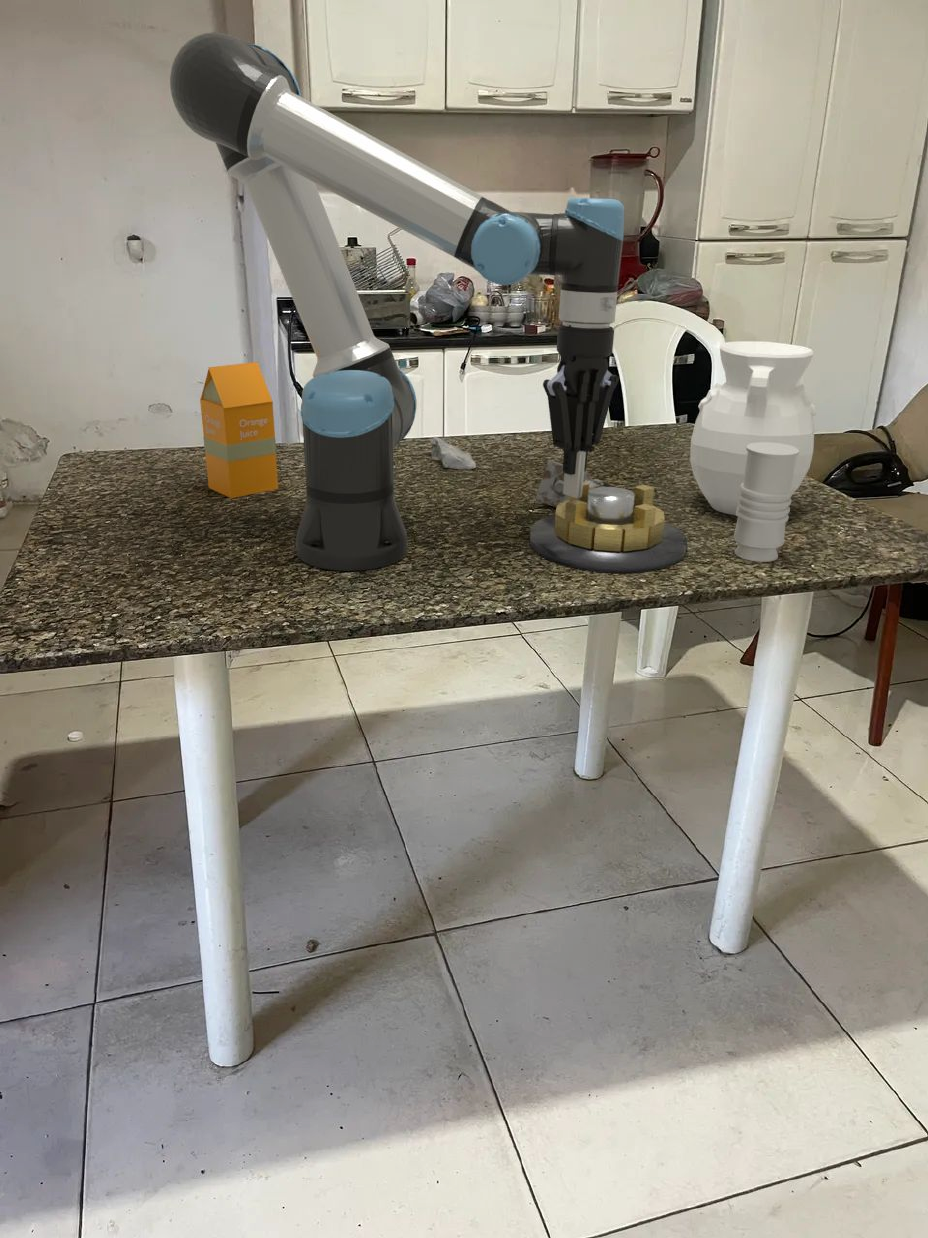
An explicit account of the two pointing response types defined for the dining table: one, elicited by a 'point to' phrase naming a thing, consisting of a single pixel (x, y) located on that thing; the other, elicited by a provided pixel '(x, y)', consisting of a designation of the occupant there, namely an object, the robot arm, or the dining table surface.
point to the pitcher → (751, 417)
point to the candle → (764, 500)
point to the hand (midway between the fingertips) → (572, 495)
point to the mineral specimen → (451, 455)
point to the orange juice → (238, 431)
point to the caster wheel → (560, 484)
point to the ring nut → (611, 537)
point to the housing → (610, 510)
